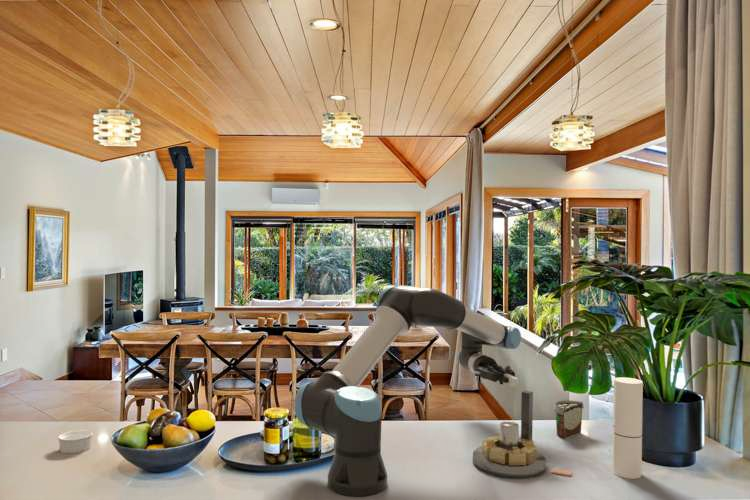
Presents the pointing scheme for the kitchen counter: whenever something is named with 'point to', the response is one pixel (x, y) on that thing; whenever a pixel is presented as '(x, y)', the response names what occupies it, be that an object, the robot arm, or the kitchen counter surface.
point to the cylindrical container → (627, 427)
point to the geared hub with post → (526, 445)
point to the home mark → (561, 472)
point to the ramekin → (75, 441)
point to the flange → (507, 440)
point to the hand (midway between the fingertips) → (516, 383)
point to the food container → (568, 418)
